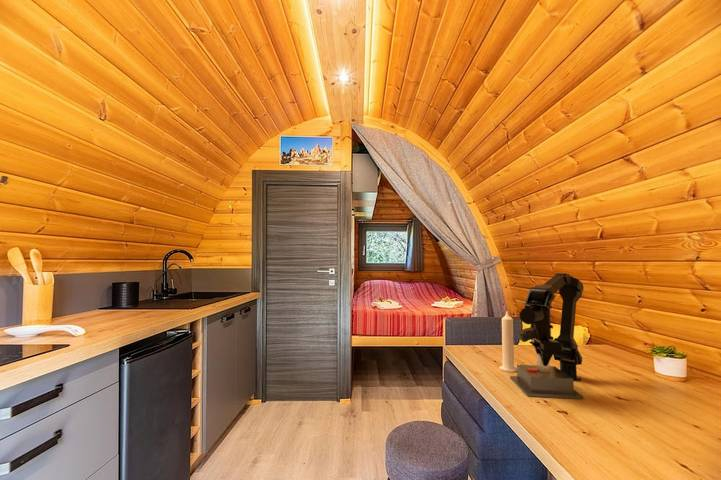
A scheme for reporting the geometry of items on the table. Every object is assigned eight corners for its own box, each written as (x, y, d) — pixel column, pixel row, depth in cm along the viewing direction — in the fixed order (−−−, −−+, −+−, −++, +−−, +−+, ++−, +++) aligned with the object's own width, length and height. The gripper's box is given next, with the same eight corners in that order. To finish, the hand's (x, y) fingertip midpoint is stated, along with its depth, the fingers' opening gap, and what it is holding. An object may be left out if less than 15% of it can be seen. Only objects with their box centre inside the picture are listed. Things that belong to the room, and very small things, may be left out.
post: (536, 377, 125) (536, 353, 125) (546, 378, 124) (545, 353, 125) (540, 380, 122) (539, 355, 122) (550, 381, 121) (549, 356, 122)
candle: (514, 367, 147) (512, 309, 149) (520, 372, 140) (518, 312, 142) (497, 366, 148) (496, 309, 149) (502, 371, 141) (501, 311, 142)
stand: (510, 378, 133) (509, 361, 133) (558, 380, 131) (557, 363, 131) (527, 396, 115) (527, 376, 115) (583, 399, 113) (582, 379, 113)
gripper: (510, 316, 134) (511, 356, 133) (528, 325, 116) (530, 371, 115) (539, 317, 133) (541, 357, 132) (562, 326, 115) (564, 372, 114)
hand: (543, 364), depth 123 cm, fingers closed on post, 3 cm apart
